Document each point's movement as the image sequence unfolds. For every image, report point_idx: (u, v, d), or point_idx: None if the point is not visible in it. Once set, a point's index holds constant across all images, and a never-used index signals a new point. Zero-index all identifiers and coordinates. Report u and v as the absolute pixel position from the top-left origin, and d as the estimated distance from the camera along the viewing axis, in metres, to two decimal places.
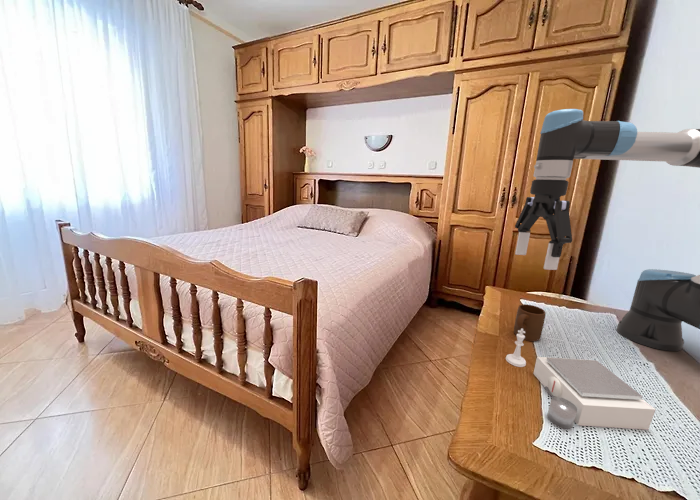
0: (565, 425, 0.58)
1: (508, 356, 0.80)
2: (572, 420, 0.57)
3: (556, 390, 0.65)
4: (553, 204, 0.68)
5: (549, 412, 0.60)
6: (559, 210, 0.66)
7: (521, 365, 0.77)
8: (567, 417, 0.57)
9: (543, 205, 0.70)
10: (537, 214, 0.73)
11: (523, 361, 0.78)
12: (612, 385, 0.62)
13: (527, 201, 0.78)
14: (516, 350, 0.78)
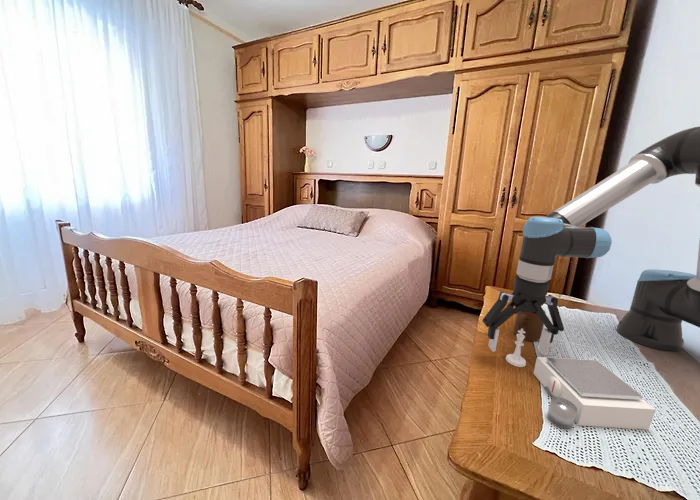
0: (565, 425, 0.58)
1: (508, 356, 0.80)
2: (572, 420, 0.57)
3: (556, 390, 0.65)
4: None
5: (549, 412, 0.60)
6: (498, 299, 0.76)
7: (521, 365, 0.77)
8: (568, 417, 0.57)
9: None
10: None
11: (523, 361, 0.78)
12: (612, 385, 0.62)
13: None
14: (516, 350, 0.78)
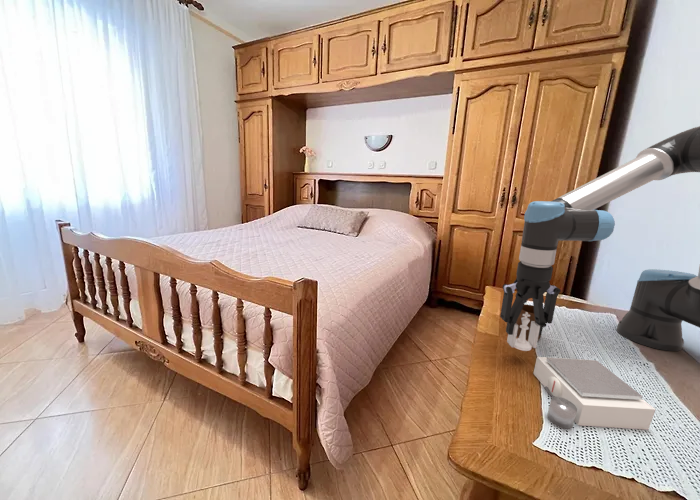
0: (565, 425, 0.58)
1: None
2: (572, 420, 0.57)
3: (556, 390, 0.65)
4: None
5: (549, 412, 0.60)
6: (504, 293, 0.75)
7: (527, 349, 0.76)
8: (568, 417, 0.57)
9: None
10: None
11: (528, 345, 0.76)
12: (612, 385, 0.62)
13: None
14: (521, 334, 0.77)
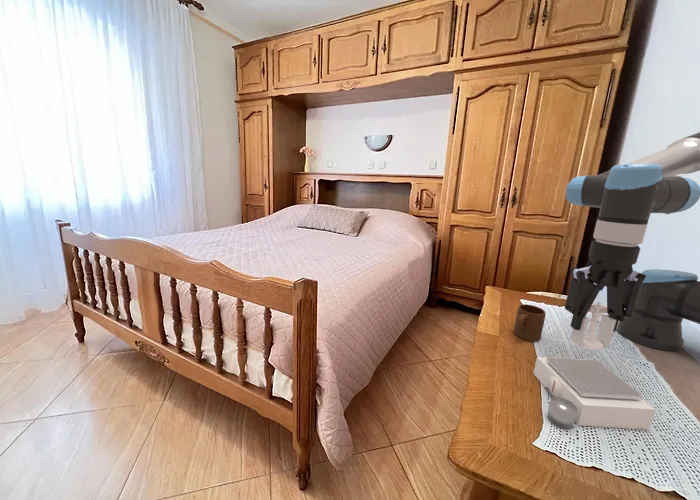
0: (566, 425, 0.58)
1: None
2: (572, 420, 0.57)
3: (556, 390, 0.65)
4: None
5: (549, 412, 0.60)
6: (572, 278, 0.62)
7: (598, 348, 0.62)
8: (568, 417, 0.57)
9: None
10: None
11: (599, 343, 0.63)
12: (612, 385, 0.62)
13: None
14: (590, 330, 0.63)
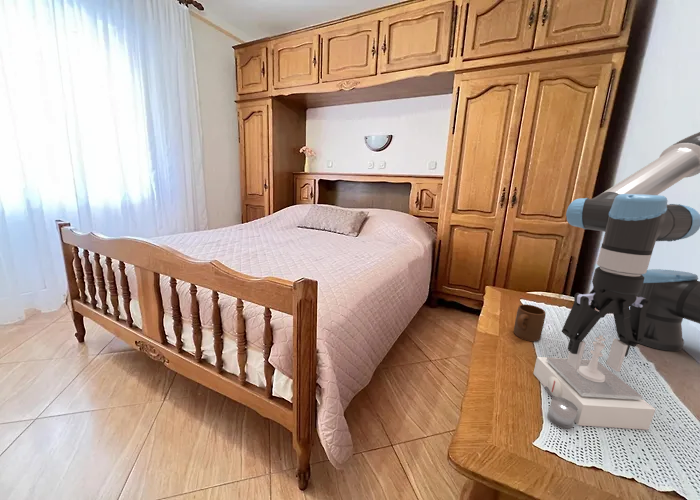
0: (566, 425, 0.58)
1: (581, 369, 0.65)
2: (573, 420, 0.57)
3: (556, 390, 0.65)
4: None
5: (550, 413, 0.60)
6: (575, 303, 0.62)
7: (600, 380, 0.62)
8: (569, 417, 0.57)
9: None
10: None
11: (602, 376, 0.63)
12: (611, 385, 0.62)
13: None
14: (592, 362, 0.64)
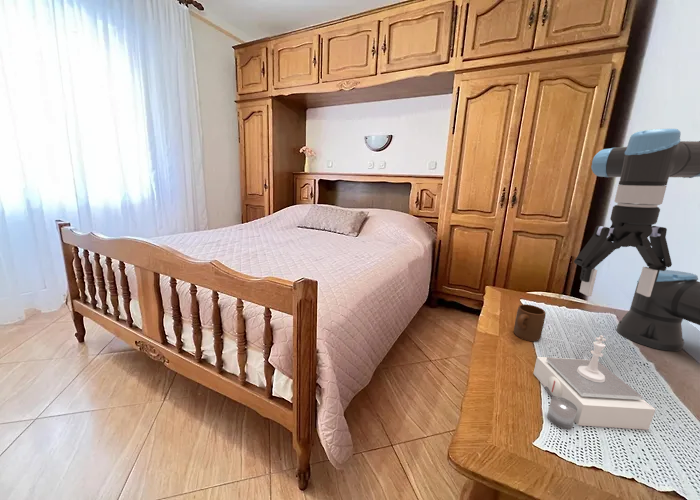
0: (567, 425, 0.58)
1: (581, 369, 0.65)
2: (573, 419, 0.58)
3: (556, 390, 0.65)
4: None
5: (550, 413, 0.60)
6: (594, 235, 0.66)
7: (600, 380, 0.62)
8: (570, 416, 0.57)
9: None
10: None
11: (602, 376, 0.63)
12: (611, 385, 0.62)
13: None
14: (592, 362, 0.64)
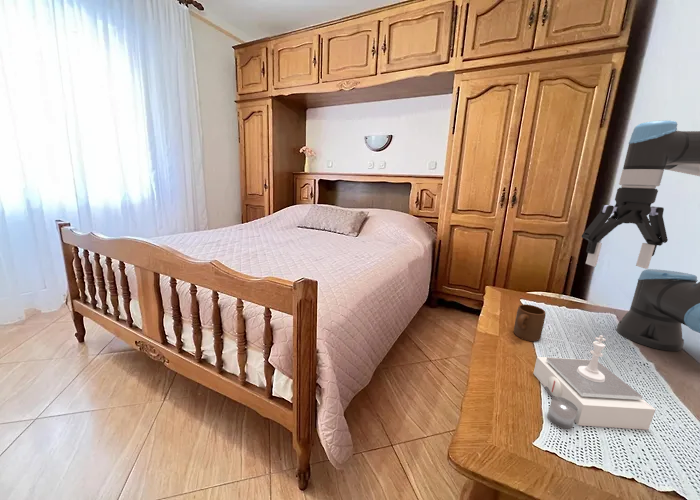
0: (568, 425, 0.58)
1: (581, 369, 0.65)
2: (574, 419, 0.57)
3: (556, 390, 0.65)
4: None
5: (551, 414, 0.60)
6: (600, 213, 0.76)
7: (600, 380, 0.62)
8: (571, 417, 0.57)
9: None
10: None
11: (602, 376, 0.63)
12: (611, 385, 0.62)
13: None
14: (592, 362, 0.64)
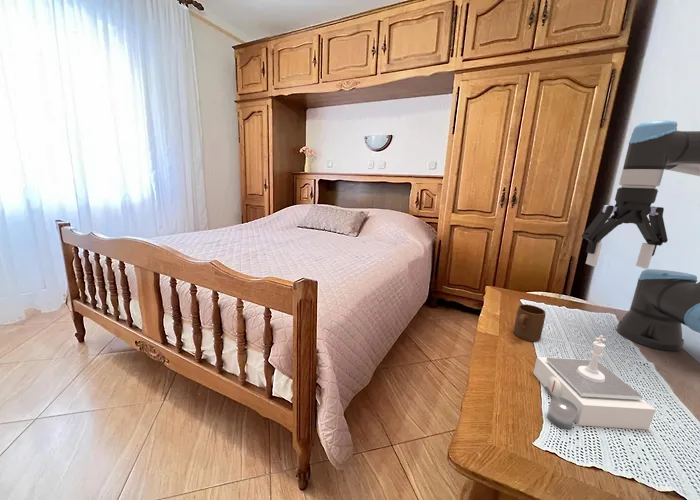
0: (568, 425, 0.58)
1: (581, 369, 0.65)
2: (574, 419, 0.58)
3: (556, 390, 0.65)
4: None
5: (551, 414, 0.60)
6: (600, 213, 0.76)
7: (600, 380, 0.62)
8: (570, 416, 0.57)
9: None
10: None
11: (602, 376, 0.63)
12: (611, 385, 0.62)
13: None
14: (592, 362, 0.64)
